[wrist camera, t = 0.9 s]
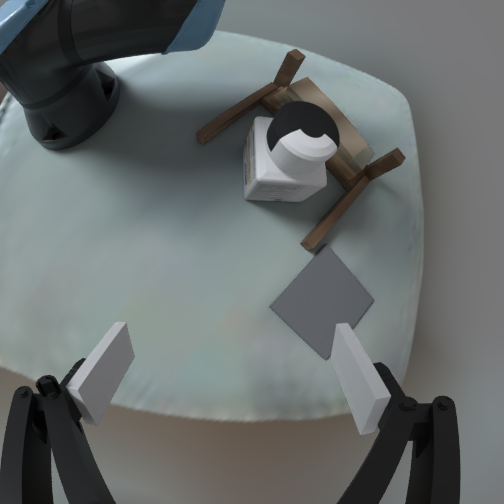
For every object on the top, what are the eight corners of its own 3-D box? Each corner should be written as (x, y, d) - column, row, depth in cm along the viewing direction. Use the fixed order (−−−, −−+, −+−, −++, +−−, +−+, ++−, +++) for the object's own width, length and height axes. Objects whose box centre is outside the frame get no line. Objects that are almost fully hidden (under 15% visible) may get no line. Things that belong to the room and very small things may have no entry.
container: (242, 145, 34) (267, 85, 21) (297, 150, 35) (342, 100, 23) (243, 200, 33) (272, 159, 21) (301, 203, 35) (354, 169, 22)
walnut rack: (195, 138, 33) (197, 103, 25) (279, 81, 36) (295, 48, 28) (307, 251, 34) (338, 245, 27) (372, 175, 38) (405, 158, 30)
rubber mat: (269, 306, 33) (270, 307, 32) (324, 244, 35) (326, 244, 35) (323, 359, 34) (325, 360, 33) (371, 299, 36) (373, 299, 36)
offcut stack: (268, 102, 34) (277, 84, 29) (291, 88, 35) (301, 70, 30) (347, 181, 35) (365, 171, 31) (364, 162, 36) (382, 151, 32)
